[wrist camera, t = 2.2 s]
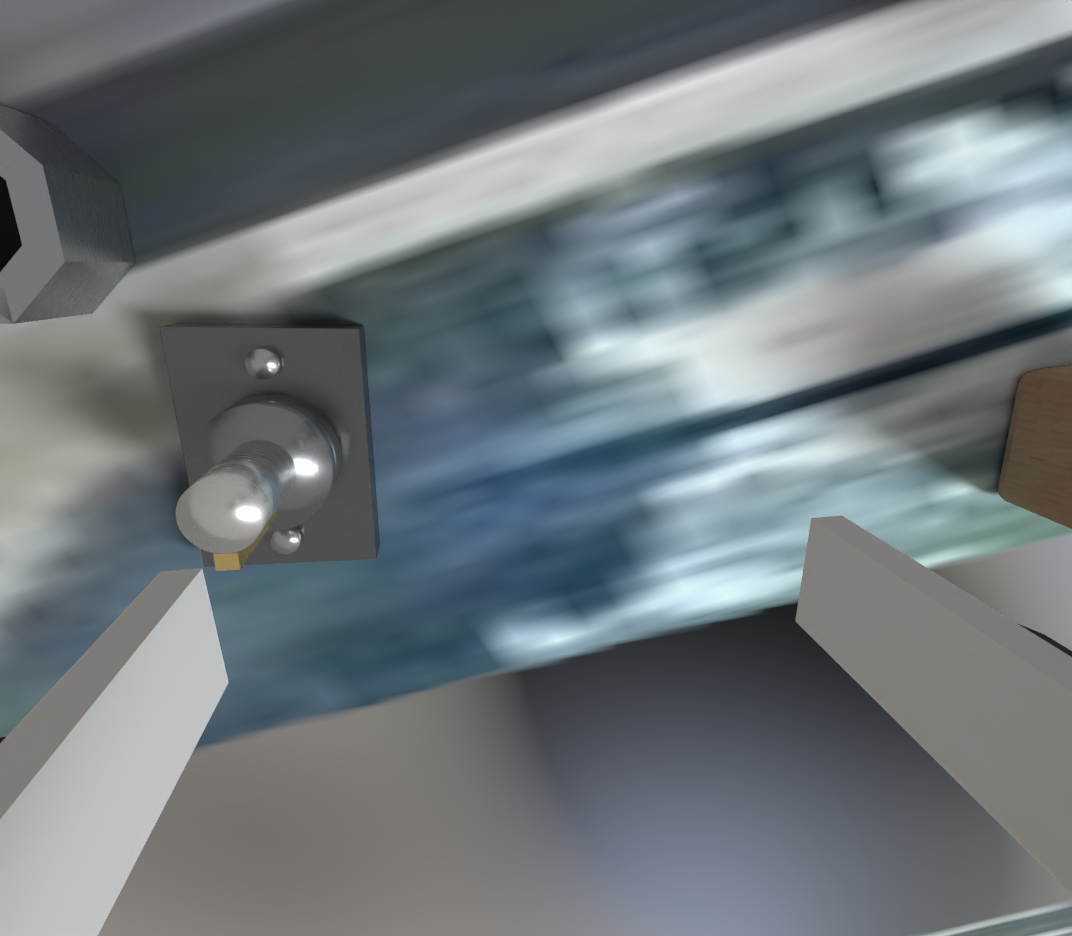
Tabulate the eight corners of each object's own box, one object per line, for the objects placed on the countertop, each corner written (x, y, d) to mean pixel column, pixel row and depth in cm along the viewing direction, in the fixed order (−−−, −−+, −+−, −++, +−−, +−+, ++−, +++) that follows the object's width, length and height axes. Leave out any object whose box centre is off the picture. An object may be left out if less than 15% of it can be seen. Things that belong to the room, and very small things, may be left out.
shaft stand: (176, 323, 32) (46, 351, 21) (363, 325, 33) (325, 351, 23) (216, 551, 36) (125, 663, 26) (379, 544, 38) (354, 648, 27)
